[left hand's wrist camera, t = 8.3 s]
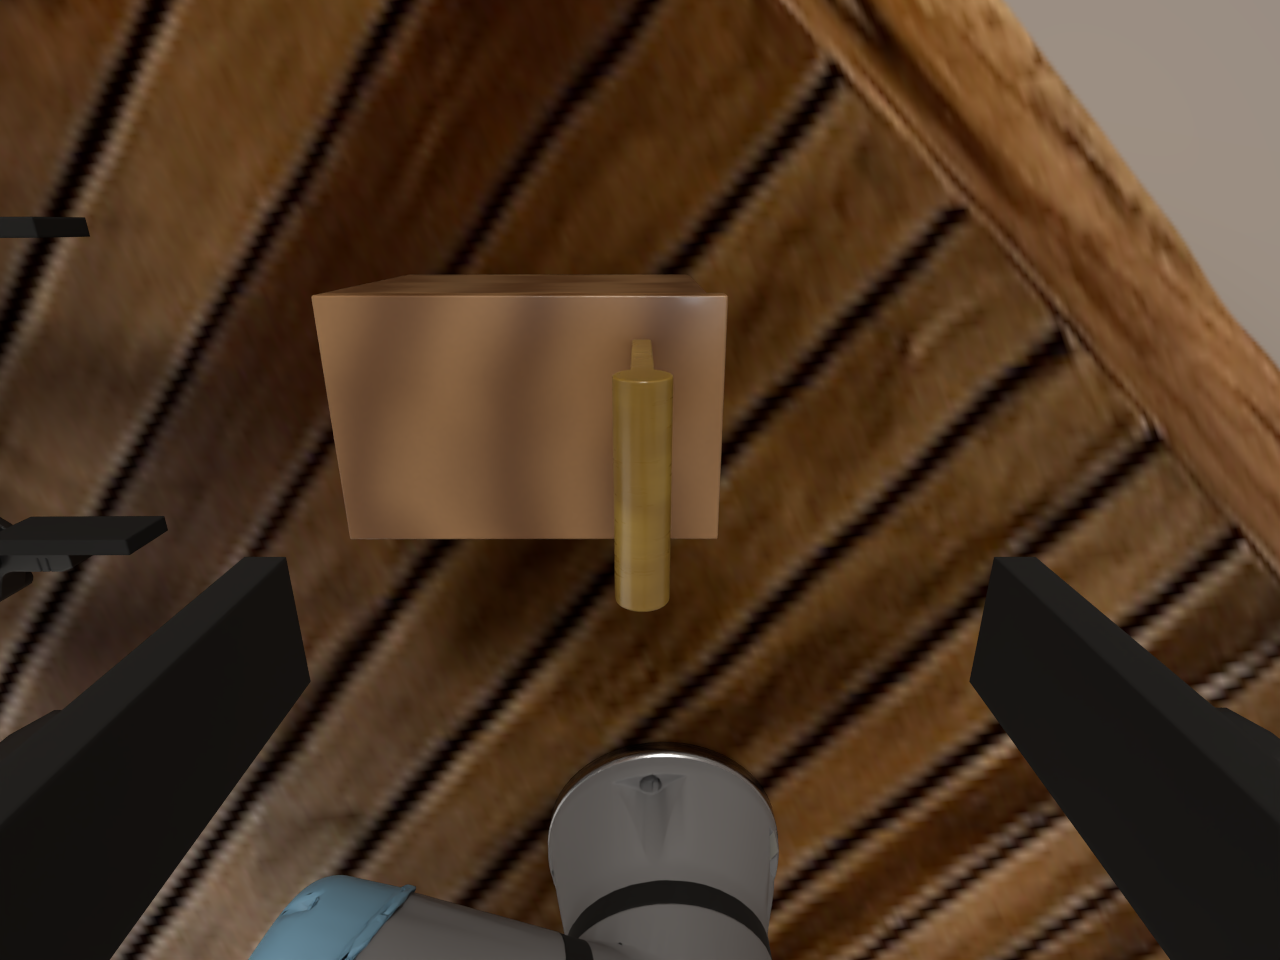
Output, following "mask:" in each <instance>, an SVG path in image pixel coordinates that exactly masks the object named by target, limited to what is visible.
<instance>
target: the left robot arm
mask: <svg viewBox="0 0 1280 960" xmlns="http://www.w3.org/2000/svg"><path fill="white" fill-rule="evenodd" d="M309 683H310V677H309V672H308V667H307V661H306V656H305V651H304V646H303V641H302V636H301V631H300V626H299V621H298V616H297V611H296V606H295V601H294V596H293V591H292V586H291V581H290V576H289V571H288V566H287V561H286V557H244V558H243V559H242V560H240V561H239V562H238V563H237V564H236V565H234V566H233V567H232V568H231V569H230V570H228V571H227V572H226V573H225V574H224V575H223V576H221V577H220V578H219V579H218V580H217V581H215V582H214V583H213V584H212V585H211V586H209V587H208V588H207V589H206V590H205V591H203V592H202V593H201V594H200V595H199V596H198V597H196V598H195V599H194V600H193V601H192V602H190V603H189V604H188V605H187V606H186V607H184V608H183V609H182V610H181V611H180V612H178V613H177V614H176V615H175V616H174V617H173V618H171V619H170V620H169V621H168V622H167V623H165V624H164V625H163V626H162V627H161V628H159V629H158V630H157V631H156V632H155V633H153V634H152V635H151V636H150V637H149V638H147V639H146V640H145V641H144V642H143V643H142V644H140V645H139V646H138V647H137V648H136V649H134V650H133V651H132V652H131V653H130V654H128V655H127V656H126V657H125V658H124V659H122V660H121V661H120V662H119V663H118V664H117V665H115V666H114V667H113V668H112V669H111V670H109V671H108V672H107V673H106V674H105V675H103V676H102V677H101V678H100V679H99V680H97V681H96V682H95V683H94V684H93V685H91V686H90V687H89V688H88V689H87V690H86V691H84V692H83V693H82V694H81V695H80V696H78V697H77V698H76V699H75V700H74V701H72V702H71V703H70V704H69V705H68V706H66V707H65V708H64V709H63V710H54V711H52V712H50V713H48V714H47V715H45V716H43V717H41V718H39V719H38V720H36V721H34V722H32V723H30V724H28V725H27V726H25V727H23V728H21V729H19V730H18V731H16V732H14V733H12V734H10V735H9V736H8V737H6V738H5V739H4V740H3V741H1V742H0V960H110V959H111V957H112V956H113V954H114V953H115V952H116V950H117V949H118V948H119V946H120V945H121V943H122V942H123V941H124V939H125V938H126V936H127V935H128V934H129V932H130V931H131V929H132V928H133V927H134V925H135V924H136V923H137V921H138V920H139V918H140V917H141V916H142V914H143V913H144V911H145V910H146V909H147V907H148V906H149V905H150V903H151V902H152V900H153V899H154V898H155V896H156V895H157V893H158V892H159V891H160V889H161V888H162V887H163V885H164V884H165V882H166V881H167V880H168V878H169V877H170V875H171V874H172V873H173V871H174V870H175V869H176V867H177V866H178V864H179V863H180V862H181V860H182V859H183V857H184V856H185V855H186V853H187V852H188V851H189V849H190V848H191V846H192V845H193V844H194V842H195V841H196V839H197V838H198V837H199V835H200V834H201V833H202V831H203V830H204V828H205V827H206V826H207V824H208V823H209V821H210V820H211V819H212V817H213V816H214V815H215V813H216V812H217V810H218V809H219V808H220V806H221V805H222V803H223V802H224V801H225V799H226V798H227V797H228V795H229V794H230V792H231V791H232V790H233V788H234V787H235V785H236V784H237V783H238V781H239V780H240V779H241V777H242V776H243V774H244V773H245V772H246V770H247V769H248V767H249V766H250V765H251V763H252V762H253V760H254V759H255V758H256V756H257V755H258V754H259V752H260V751H261V749H262V748H263V747H264V745H265V744H266V742H267V741H268V740H269V738H270V737H271V736H272V734H273V733H274V731H275V730H276V729H277V727H278V726H279V724H280V723H281V722H282V720H283V719H284V718H285V716H286V715H287V713H288V712H289V711H290V709H291V708H292V706H293V705H294V704H295V702H296V701H297V700H298V698H299V697H300V695H301V694H302V693H303V691H304V690H305V688H306V687H307V686H308V684H309ZM970 683H971V684H972V686H973V687H974V688H975V690H976V691H977V693H978V694H979V695H980V697H981V698H982V700H983V701H984V702H985V704H986V705H987V706H988V708H989V709H990V711H991V712H992V713H993V715H994V716H995V718H996V719H997V720H998V722H999V723H1000V724H1001V726H1002V727H1003V729H1004V730H1005V731H1006V733H1007V734H1008V736H1009V737H1010V738H1011V740H1012V741H1013V742H1014V744H1015V745H1016V747H1017V748H1018V749H1019V751H1020V752H1021V754H1022V755H1023V756H1024V758H1025V759H1026V760H1027V762H1028V763H1029V765H1030V766H1031V767H1032V769H1033V770H1034V772H1035V773H1036V774H1037V776H1038V777H1039V779H1040V780H1041V781H1042V783H1043V784H1044V785H1045V787H1046V788H1047V790H1048V791H1049V792H1050V794H1051V795H1052V797H1053V798H1054V799H1055V801H1056V802H1057V803H1058V805H1059V806H1060V808H1061V809H1062V810H1063V812H1064V813H1065V815H1066V816H1067V817H1068V819H1069V820H1070V821H1071V823H1072V824H1073V826H1074V827H1075V828H1076V830H1077V831H1078V833H1079V834H1080V835H1081V837H1082V838H1083V839H1084V841H1085V842H1086V844H1087V845H1088V846H1089V848H1090V849H1091V851H1092V852H1093V853H1094V855H1095V856H1096V857H1097V859H1098V860H1099V862H1100V863H1101V864H1102V866H1103V867H1104V869H1105V870H1106V871H1107V873H1108V874H1109V875H1110V877H1111V878H1112V880H1113V881H1114V882H1115V884H1116V885H1117V887H1118V888H1119V889H1120V891H1121V892H1122V893H1123V895H1124V896H1125V898H1126V899H1127V900H1128V902H1129V903H1130V905H1131V906H1132V907H1133V909H1134V910H1135V911H1136V913H1137V914H1138V916H1139V917H1140V918H1141V920H1142V921H1143V923H1144V924H1145V925H1146V927H1147V928H1148V929H1149V931H1150V932H1151V934H1152V935H1153V936H1154V938H1155V939H1156V941H1157V942H1158V943H1159V945H1160V946H1161V948H1162V949H1163V950H1164V952H1165V953H1166V954H1167V956H1168V957H1169V959H1170V960H1280V739H1279V738H1278V737H1277V736H1275V735H1274V734H1273V733H1271V732H1270V731H1268V730H1266V729H1264V728H1262V727H1260V726H1259V725H1257V724H1255V723H1253V722H1251V721H1250V720H1248V719H1246V718H1244V717H1242V716H1240V715H1239V714H1237V713H1235V712H1233V711H1231V710H1229V709H1228V708H1215V707H1214V706H1212V705H1211V704H1210V703H1209V702H1208V701H1206V700H1205V699H1204V698H1203V697H1202V696H1200V695H1199V694H1198V693H1197V692H1196V691H1194V690H1193V689H1192V688H1191V687H1190V686H1189V685H1187V684H1186V683H1185V682H1184V681H1183V680H1181V679H1180V678H1179V677H1178V676H1177V675H1175V674H1174V673H1173V672H1172V671H1171V670H1169V669H1168V668H1167V667H1166V666H1165V665H1163V664H1162V663H1161V662H1160V661H1159V660H1158V659H1156V658H1155V657H1154V656H1153V655H1152V654H1150V653H1149V652H1148V651H1147V650H1146V649H1144V648H1143V647H1142V646H1141V645H1140V644H1138V643H1137V642H1136V641H1135V640H1134V639H1133V638H1131V637H1130V636H1129V635H1128V634H1127V633H1125V632H1124V631H1123V630H1122V629H1121V628H1119V627H1118V626H1117V625H1116V624H1115V623H1113V622H1112V621H1111V620H1110V619H1109V618H1107V617H1106V616H1105V615H1104V614H1103V613H1102V612H1100V611H1099V610H1098V609H1097V608H1096V607H1094V606H1093V605H1092V604H1091V603H1090V602H1088V601H1087V600H1086V599H1085V598H1084V597H1082V596H1081V595H1080V594H1079V593H1078V592H1077V591H1075V590H1074V589H1073V588H1072V587H1071V586H1069V585H1068V584H1067V583H1066V582H1065V581H1063V580H1062V579H1061V578H1060V577H1059V576H1057V575H1056V574H1055V573H1054V572H1053V571H1051V570H1050V569H1049V568H1048V567H1047V566H1046V565H1044V564H1043V563H1042V562H1041V561H1040V560H1038V559H1037V558H1036V557H994V561H993V566H992V571H991V576H990V581H989V586H988V591H987V596H986V601H985V606H984V611H983V616H982V621H981V626H980V631H979V636H978V641H977V646H976V651H975V656H974V661H973V667H972V672H971V677H970ZM778 853H779V850H778V834H777V827H776V823H775V818H774V814H773V810H772V807H771V804H770V801H769V799H768V797H767V795H766V793H765V791H764V790H763V788H762V787H761V785H760V784H759V783H758V781H757V780H756V779H755V778H754V777H753V776H752V775H751V774H750V773H749V772H748V771H747V770H746V769H744V768H743V767H742V766H741V765H739V764H738V763H736V762H735V761H733V760H731V759H730V758H728V757H726V756H724V755H722V754H720V753H717V752H715V751H712V750H709V749H707V748H703V747H699V746H695V745H690V744H685V743H675V742H653V743H643V744H637V745H632V746H628V747H624V748H621V749H618V750H615V751H612V752H610V753H608V754H605V755H603V756H601V757H599V758H597V759H595V760H594V761H592V762H591V763H589V764H588V765H586V766H585V767H584V768H582V769H581V770H580V771H579V772H577V773H576V774H575V775H574V776H573V777H572V778H571V779H570V781H569V782H568V783H567V784H566V785H565V787H564V788H563V790H562V791H561V793H560V795H559V797H558V799H557V801H556V803H555V806H554V808H553V812H552V817H551V822H550V829H549V837H548V857H549V867H550V871H551V874H552V878H553V881H554V885H555V887H556V891H557V897H558V903H559V908H560V913H561V918H562V923H563V928H564V933H565V935H564V934H561V933H559V932H556V931H553V930H549V929H545V928H542V927H538V926H534V925H531V924H527V923H524V922H520V921H516V920H513V919H509V918H505V917H502V916H498V915H495V914H491V913H487V912H484V911H480V910H476V909H473V908H469V907H466V906H462V905H458V904H455V903H451V902H447V901H444V900H440V899H436V898H433V897H429V896H426V895H422V894H418V893H415V890H416V886H412V885H405V886H403V887H397V886H392V885H388V884H383V883H378V882H374V881H369V880H364V879H360V878H355V877H351V876H345V875H335V876H329V877H325V878H322V879H319V880H317V881H315V882H314V883H312V884H310V885H309V886H307V887H306V888H305V889H303V890H302V891H301V892H300V893H299V894H298V895H297V896H296V897H295V898H294V899H293V900H292V901H291V902H290V903H289V904H288V905H287V907H286V908H285V909H284V910H283V912H282V913H281V914H280V915H279V917H278V918H277V919H276V921H275V922H274V923H273V925H272V926H271V927H270V929H269V930H268V932H267V933H266V934H265V936H264V937H263V939H262V940H261V942H260V943H259V944H258V946H257V947H256V949H255V950H254V952H253V953H252V955H251V956H250V958H249V959H248V960H772V958H771V952H770V946H769V941H768V934H767V933H768V926H769V919H770V912H771V906H772V899H773V891H774V878H775V875H776V871H777V865H778Z"/></svg>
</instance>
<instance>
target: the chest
mask: <svg viewBox="0 0 1280 960" xmlns="http://www.w3.org/2000/svg"><path fill="white" fill-rule="evenodd" d="M326 293H706V292H705V291H704V290H703V289H702V288H701V287H700V286H699V285H698V284H697V283H696V282H695V281H694V280H693V279H692V278H691V277H690V276H689V275H406V276H401V277H396V278H391V279H387V280H382V281H377V282H373V283H368V284H363V285H359V286H354V287H349V288H345V289H340V290H336V291H331V292H326Z"/></svg>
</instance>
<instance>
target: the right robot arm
mask: <svg viewBox="0 0 1280 960" xmlns="http://www.w3.org/2000/svg"><path fill="white" fill-rule="evenodd" d="M43 237H90V235H89V231H88V227H87V223H86V219H85V218H82V217H0V238H43ZM166 531H168V529H167V525H166V521H165V518H164V516H96V517H29V518H27V519H25V520H23V521H21V522H19V523H17V524H15V525H12V524H11V523H9V522H7V521H6V520H4V519H2V518H1V517H0V602H1V601H2V600H4V599H6V598H7V597H9V596H11V595H12V594H14V593H16V592H18V591H19V590H21V589H23V588H24V587H26V586H28V585H29V584H31V583H32V581H33V575H32V573H31V572H41V571H43V572H49V571H65V570H68V569H70V568H72V567H74V566H76V565H77V564H79V563H81V562H82V561H84V560H86V559H87V558H89V557H91V556H92V555H130V554H132V553H133V552H135V551H137V550H138V549H140V548H141V547H143V546H144V545H146V544H147V543H149V542H150V541H152V540H154V539H155V538H157V537H158V536H160V535H161V534H163V533H164V532H166Z"/></svg>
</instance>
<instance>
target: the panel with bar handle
mask: <svg viewBox="0 0 1280 960" xmlns="http://www.w3.org/2000/svg"><path fill="white" fill-rule="evenodd" d="M312 304H313V310H314V316H315V322H316V328H317V335H318V341H319V347H320V353H321V360H322V366H323V372H324V378H325V385H326V391H327V397H328V403H329V409H330V416H331V422H332V428H333V434H334V441H335V447H336V453H337V459H338V465H339V472H340V478H341V484H342V490H343V497H344V503H345V509H346V515H347V522H348V528H349V534H350V539H614V559H615V599H616V602H617V603H618V604H619V605H620V606H621V607H623V608H625V609H627V610H631V611H636V612H649V611H654V610H657V609H660V608H662V607H664V606H665V605H666V604H667V603H668V601H669V599H670V549H671V539H717V537H718V517H719V494H720V470H721V447H722V424H723V400H724V377H725V354H726V330H727V307H728V296H727V295H726V294H724V293H322V294H317V295H313V296H312Z"/></svg>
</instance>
